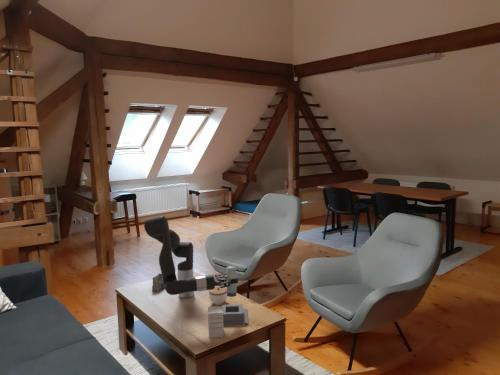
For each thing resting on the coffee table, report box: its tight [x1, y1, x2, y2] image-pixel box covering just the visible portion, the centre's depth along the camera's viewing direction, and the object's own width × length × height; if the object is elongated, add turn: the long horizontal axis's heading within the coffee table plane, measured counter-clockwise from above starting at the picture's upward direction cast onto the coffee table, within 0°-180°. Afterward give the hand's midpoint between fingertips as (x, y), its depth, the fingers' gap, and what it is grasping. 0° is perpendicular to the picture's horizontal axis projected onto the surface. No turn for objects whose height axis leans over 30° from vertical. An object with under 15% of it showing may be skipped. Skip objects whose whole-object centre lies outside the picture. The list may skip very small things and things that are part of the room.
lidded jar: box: [208, 286, 228, 306], centre depth 230 cm, size 11×11×9 cm
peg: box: [226, 265, 237, 298], centre depth 209 cm, size 5×5×15 cm
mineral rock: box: [151, 272, 165, 292], centre depth 254 cm, size 13×11×10 cm
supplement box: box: [207, 305, 225, 339], centre depth 194 cm, size 7×7×13 cm
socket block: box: [221, 304, 249, 327], centre depth 211 cm, size 16×16×5 cm
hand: (236, 278), depth 209 cm, fingers closed on peg, 5 cm apart
